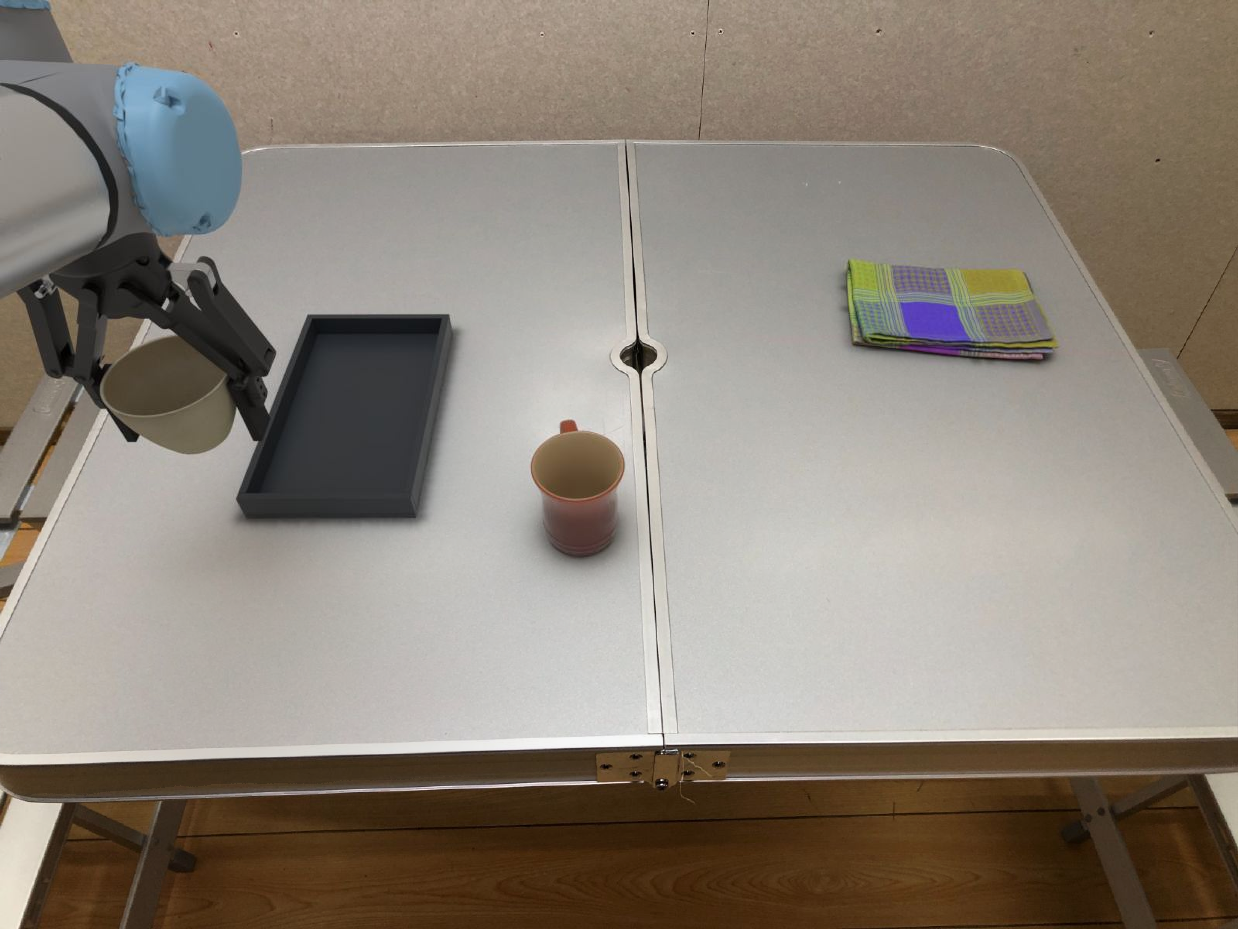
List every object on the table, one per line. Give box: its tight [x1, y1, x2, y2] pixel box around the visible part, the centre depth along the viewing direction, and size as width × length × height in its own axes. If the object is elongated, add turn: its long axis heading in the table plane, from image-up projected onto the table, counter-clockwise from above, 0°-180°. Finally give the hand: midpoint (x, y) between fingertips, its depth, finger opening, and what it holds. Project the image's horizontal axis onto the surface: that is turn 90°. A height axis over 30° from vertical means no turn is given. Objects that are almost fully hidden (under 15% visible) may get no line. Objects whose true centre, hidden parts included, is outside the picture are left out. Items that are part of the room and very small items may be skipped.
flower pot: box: [100, 333, 238, 455], centre depth 70 cm, size 10×10×7 cm
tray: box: [235, 313, 454, 519], centre depth 95 cm, size 30×18×3 cm, turn 0°
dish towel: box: [846, 258, 1060, 360], centre depth 108 cm, size 18×24×3 cm
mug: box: [530, 419, 626, 557], centre depth 82 cm, size 12×9×10 cm
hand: (200, 430), depth 72 cm, fingers closed on flower pot, 10 cm apart
